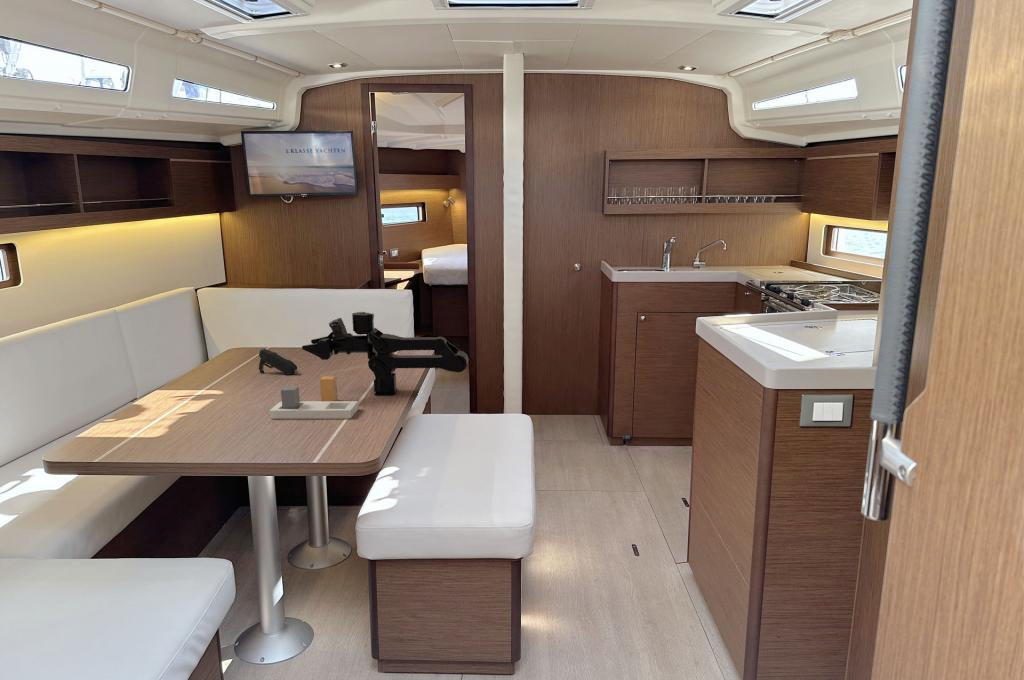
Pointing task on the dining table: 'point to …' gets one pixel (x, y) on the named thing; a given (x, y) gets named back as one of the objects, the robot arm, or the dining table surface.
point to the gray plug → (290, 397)
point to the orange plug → (328, 388)
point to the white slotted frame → (316, 410)
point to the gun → (276, 362)
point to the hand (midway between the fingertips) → (306, 344)
